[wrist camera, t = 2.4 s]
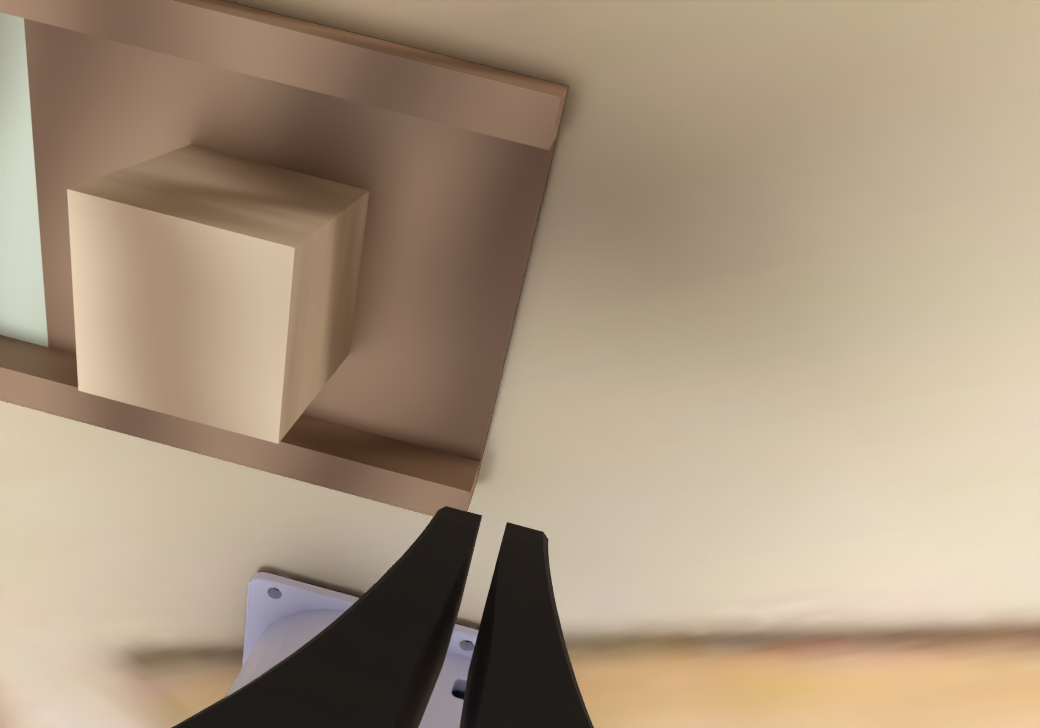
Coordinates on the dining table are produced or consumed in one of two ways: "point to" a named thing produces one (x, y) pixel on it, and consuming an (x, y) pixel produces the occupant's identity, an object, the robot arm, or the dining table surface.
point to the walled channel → (305, 149)
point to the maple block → (214, 287)
